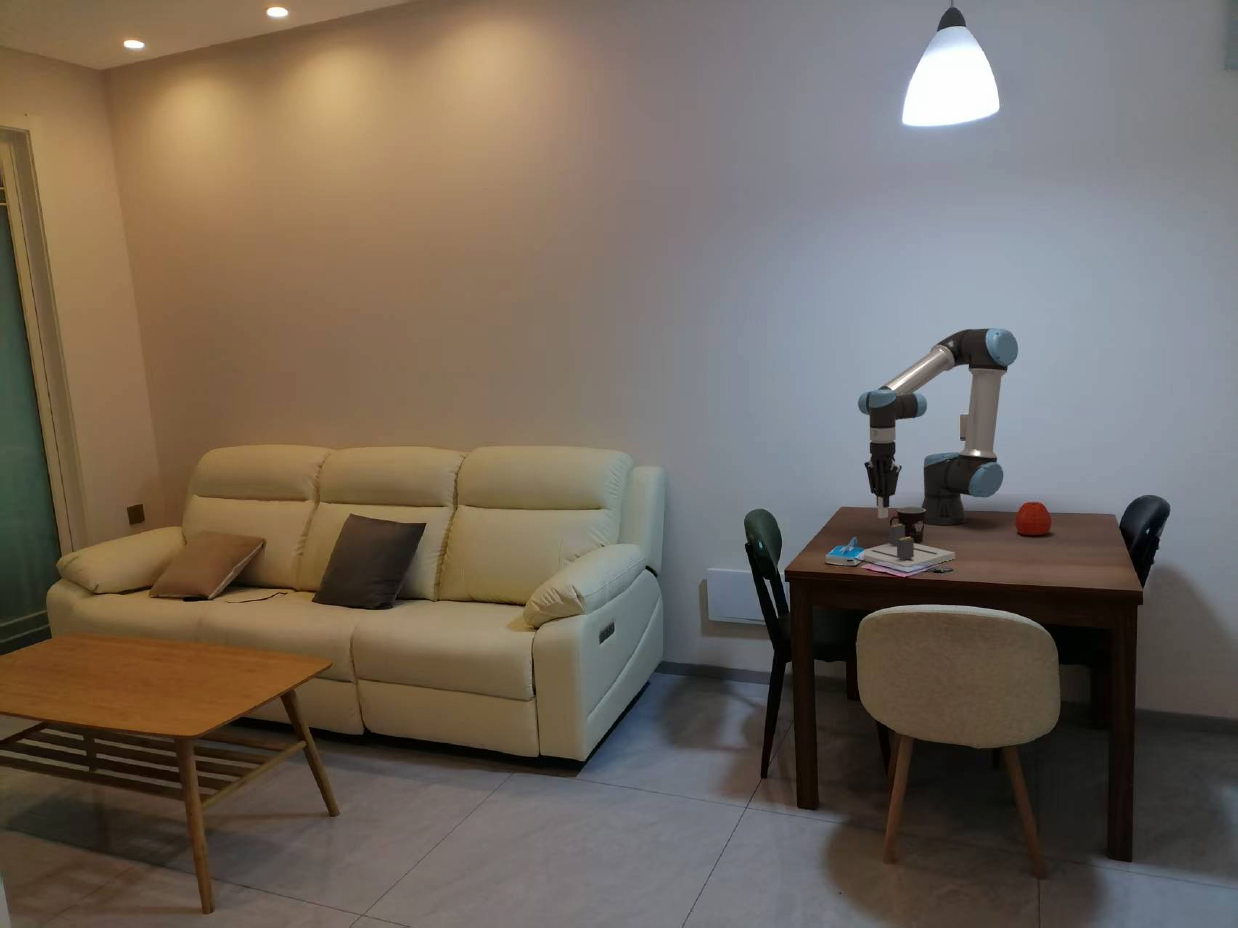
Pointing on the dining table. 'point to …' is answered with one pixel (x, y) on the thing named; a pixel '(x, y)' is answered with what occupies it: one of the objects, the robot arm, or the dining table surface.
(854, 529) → the dining table surface
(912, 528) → the coffee mug
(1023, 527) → the apple
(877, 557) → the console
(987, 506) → the dining table surface
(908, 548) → the block
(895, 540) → the block
